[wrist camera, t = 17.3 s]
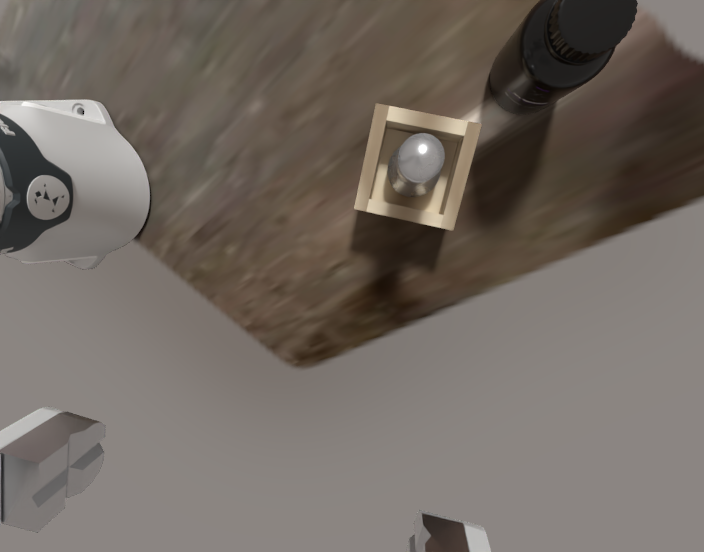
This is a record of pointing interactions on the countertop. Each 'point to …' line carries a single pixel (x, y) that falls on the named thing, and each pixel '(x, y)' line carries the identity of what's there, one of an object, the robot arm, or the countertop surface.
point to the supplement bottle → (558, 51)
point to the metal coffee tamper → (416, 165)
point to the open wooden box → (459, 150)
